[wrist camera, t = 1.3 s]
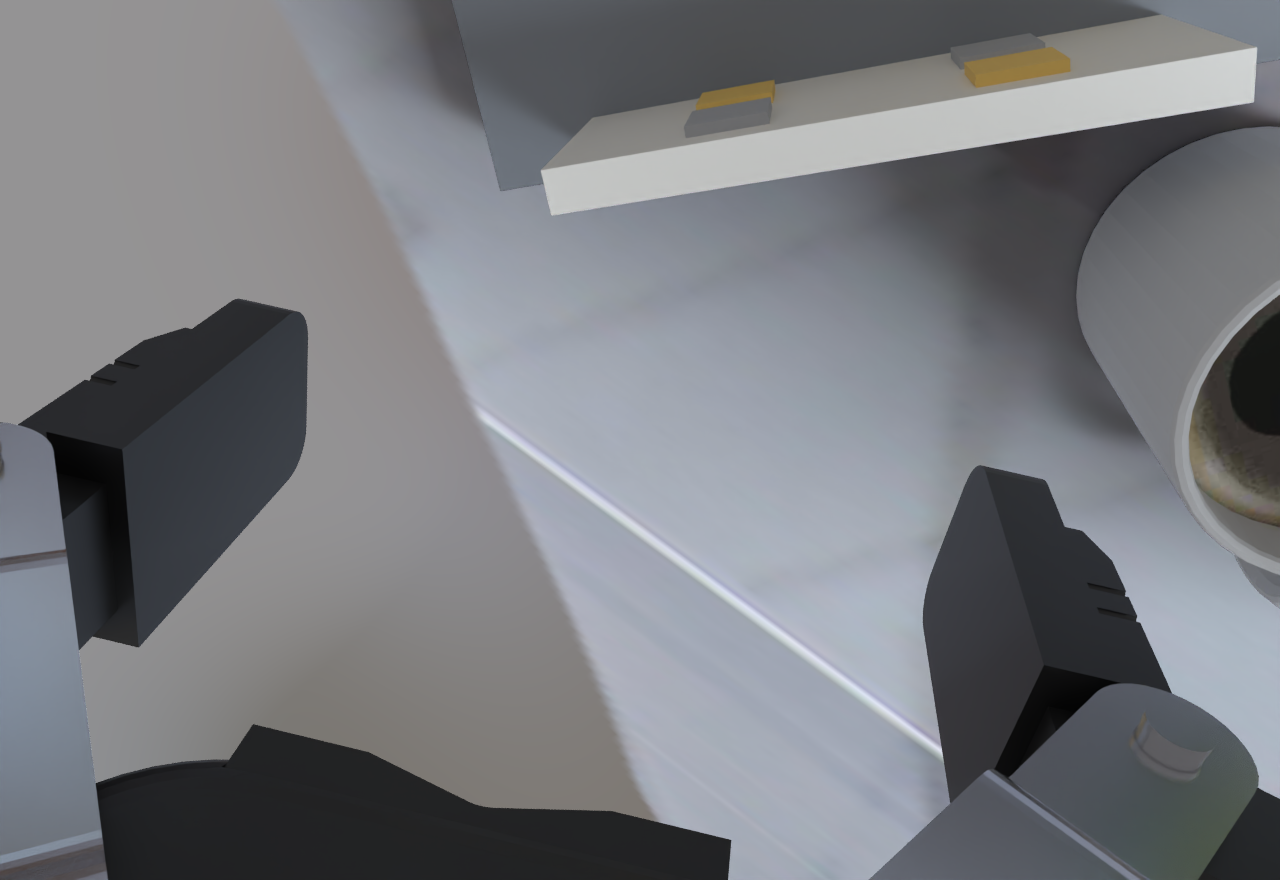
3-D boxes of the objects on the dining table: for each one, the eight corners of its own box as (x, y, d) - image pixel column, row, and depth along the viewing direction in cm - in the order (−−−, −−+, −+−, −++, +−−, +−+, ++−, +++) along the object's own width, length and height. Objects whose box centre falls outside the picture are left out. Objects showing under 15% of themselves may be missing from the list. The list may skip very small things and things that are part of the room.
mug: (1210, 67, 29) (1385, 142, 20) (1486, 229, 30) (1767, 368, 21) (978, 374, 34) (1036, 540, 25) (1218, 504, 35) (1355, 709, 26)
